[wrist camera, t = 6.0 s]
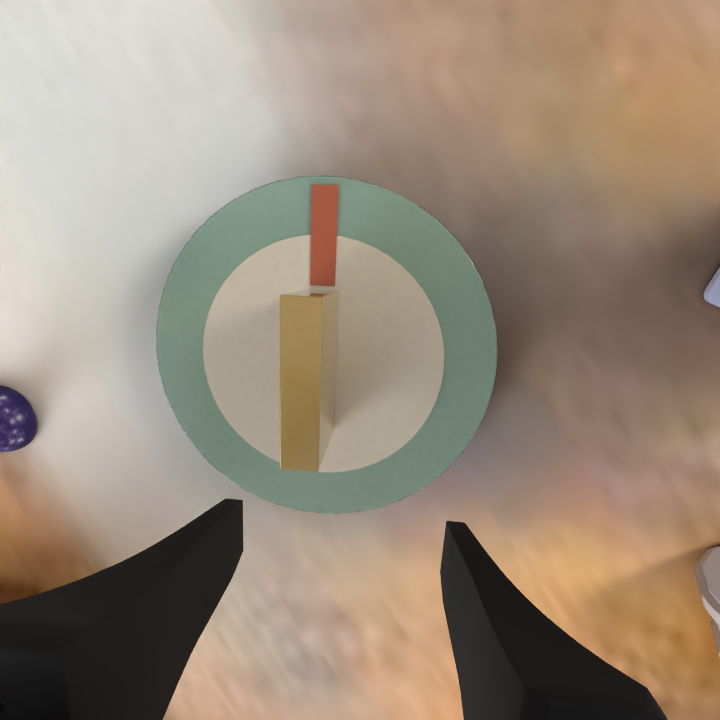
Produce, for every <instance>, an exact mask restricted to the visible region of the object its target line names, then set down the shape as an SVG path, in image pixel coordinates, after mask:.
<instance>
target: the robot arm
mask: <svg viewBox="0 0 720 720" xmlns="http://www.w3.org/2000/svg"><path fill="white" fill-rule="evenodd" d="M704 298H705V300H706V301H707V302H708V303H711V304H713V305H715V306H717V307H720V267H719V269H718V270H717V272H716V273H715V275H714V276H713V278H712V280H711V281H710V283H709V284H708V286H707V287H706V289H705V291H704ZM242 552H243V500H235V499H225V500H223V501H221V502H220V503H218V504H217V505H215V506H214V507H212V508H211V509H209V510H208V511H206V512H205V513H203V514H202V515H200V516H199V517H197V518H196V519H194V520H193V521H191V522H190V523H188V524H187V525H185V526H184V527H182V528H181V529H179V530H178V531H176V532H174V533H173V534H171V535H169V536H168V537H166V538H164V539H163V540H161V541H160V542H158V543H156V544H155V545H153V546H151V547H149V548H147V549H146V550H144V551H142V552H140V553H138V554H136V555H134V556H132V557H130V558H128V559H126V560H124V561H122V562H120V563H118V564H116V565H113V566H111V567H109V568H106V569H104V570H102V571H99V572H97V573H95V574H92V575H90V576H88V577H85V578H83V579H80V580H77V581H75V582H72V583H69V584H67V585H64V586H61V587H58V588H55V589H52V590H49V591H46V592H43V593H40V594H36V595H33V596H29V597H26V598H22V599H19V600H15V601H12V602H8V603H5V604H1V605H0V720H163V717H164V715H165V713H166V710H167V708H168V705H169V703H170V701H171V698H172V696H173V693H174V691H175V689H176V686H177V684H178V682H179V680H180V677H181V675H182V673H183V671H184V668H185V666H186V664H187V661H188V659H189V657H190V655H191V653H192V651H193V649H194V647H195V645H196V643H197V641H198V639H199V637H200V635H201V634H202V632H203V630H204V628H205V626H206V625H207V623H208V621H209V619H210V617H211V616H212V614H213V612H214V610H215V608H216V607H217V605H218V603H219V601H220V599H221V597H222V596H223V594H224V592H225V590H226V588H227V586H228V585H229V583H230V581H231V579H232V577H233V574H234V572H235V570H236V567H237V565H238V562H239V560H240V557H241V554H242ZM440 574H441V586H442V596H443V604H444V609H445V614H446V619H447V624H448V629H449V634H450V639H451V644H452V649H453V653H454V658H455V663H456V668H457V673H458V678H459V684H460V690H461V699H462V707H463V716H464V720H668V719H667V718H666V716H665V714H664V713H663V711H662V709H661V708H660V706H659V705H658V703H657V702H656V700H655V699H654V698H653V696H652V695H651V693H650V692H649V690H648V689H647V688H646V687H645V686H643V685H641V684H640V683H638V682H637V681H635V680H633V679H632V678H630V677H629V676H627V675H625V674H624V673H622V672H621V671H619V670H617V669H616V668H614V667H613V666H611V665H609V664H608V663H606V662H605V661H603V660H602V659H601V658H599V657H598V656H596V655H595V654H593V653H592V652H591V651H589V650H588V649H586V648H585V647H584V646H582V645H581V644H580V643H578V642H577V641H576V640H574V639H573V638H572V637H570V636H569V635H568V634H567V633H565V632H564V631H563V630H562V629H561V628H559V627H558V626H557V625H556V624H555V623H553V622H552V621H551V620H550V619H549V618H547V617H546V616H545V615H544V614H543V613H542V612H541V611H540V610H539V609H538V608H536V607H535V606H534V605H533V604H532V603H531V602H530V601H529V600H528V599H527V598H526V597H525V596H524V595H523V594H522V593H521V592H520V591H519V590H518V589H517V588H516V587H515V586H514V585H513V583H512V582H511V581H510V580H509V579H508V578H507V577H506V576H505V574H504V573H503V572H502V571H501V570H500V569H499V567H498V566H497V565H496V564H495V562H494V561H493V560H492V559H491V557H490V556H489V555H488V554H487V552H486V551H485V550H484V548H483V547H482V546H481V544H480V543H479V542H478V540H477V539H476V537H475V536H474V535H473V533H472V532H471V531H470V529H469V528H468V526H467V525H466V524H465V523H462V522H452V521H446V529H445V537H444V546H443V554H442V562H441V570H440Z"/></svg>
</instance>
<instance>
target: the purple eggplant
mask: <svg viewBox="0 0 720 720" xmlns="http://www.w3.org/2000/svg"><path fill="white" fill-rule="evenodd" d="M36 428H37V422H36V417H35V414H34V411H33V409H32V407H31V406H30V403H29V402H28V401H27V400H26V399H25V398H24V397H23V396H22V395H21V394H20V393H18V392H17V391H14V390H13V389H11V388H8V387H4V386H0V453H2V452H10V451H14V450H17V449H20V448H23V447H25V446H26V445H28V444H29V443H30V441H31V440H32V439H33V438H34V435H35V432H36Z"/></svg>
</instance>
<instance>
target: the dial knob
mask: <svg viewBox="0 0 720 720" xmlns="http://www.w3.org/2000/svg"><path fill="white" fill-rule="evenodd" d="M156 338H157V357H158V364H159V371H160V375H161V379H162V383H163V386H164V390H165V393H166V396H167V398H168V401H169V403H170V406H171V408H172V411H173V413H174V415H175V416H176V418H177V420H178V422H179V424H180V425H181V427H182V429H183V431H184V432H185V433H186V435H187V436H188V438H189V439H190V440H191V442H192V443H193V445H194V446H195V447H196V448H197V450H198V451H199V452H200V453H201V454H202V455H203V456H204V457H205V458H206V459H207V461H208V462H209V463H210V464H212V465H213V466H214V467H215V468H216V469H217V470H218V471H220V472H221V473H222V474H223V475H224V476H226V477H227V478H228V479H230V480H231V481H233V482H234V483H236V484H237V485H238V486H240V487H241V488H243V489H245V490H247V491H249V492H251V493H253V494H254V495H256V496H258V497H260V498H263V499H265V500H268V501H270V502H273V503H275V504H278V505H282V506H285V507H289V508H293V509H296V510H302V511H309V512H315V513H337V514H338V513H350V512H359V511H364V510H369V509H374V508H378V507H381V506H384V505H387V504H390V503H393V502H396V501H399V500H401V499H403V498H405V497H407V496H409V495H411V494H413V493H415V492H417V491H418V490H420V489H421V488H423V487H424V486H426V485H428V484H429V483H431V482H432V481H433V480H435V479H436V478H437V477H438V476H439V475H441V474H442V473H443V472H444V471H445V470H446V469H448V468H449V467H450V466H451V464H452V463H453V462H454V461H455V460H456V459H457V458H458V457H459V456H460V455H461V453H462V452H463V451H464V450H465V448H466V447H467V445H468V444H469V442H470V441H471V439H472V438H473V437H474V435H475V433H476V431H477V429H478V427H479V425H480V423H481V421H482V420H483V418H484V416H485V413H486V410H487V407H488V404H489V401H490V399H491V396H492V391H493V386H494V382H495V377H496V369H497V353H498V348H497V334H496V325H495V320H494V316H493V311H492V306H491V303H490V300H489V297H488V294H487V292H486V289H485V286H484V284H483V281H482V279H481V277H480V275H479V273H478V272H477V270H476V268H475V266H474V264H473V262H472V260H471V259H470V257H469V256H468V255H467V253H466V252H465V251H464V249H463V248H462V246H461V245H460V244H459V242H458V241H457V240H456V239H455V238H454V237H453V235H452V234H451V233H450V232H449V231H448V230H447V229H446V228H445V227H444V226H443V225H442V224H441V223H440V222H439V221H438V220H436V219H435V218H434V217H433V216H431V215H430V214H429V213H427V212H426V211H425V210H424V209H422V208H421V207H420V206H418V205H416V204H415V203H413V202H411V201H409V200H408V199H406V198H404V197H403V196H401V195H399V194H397V193H395V192H392V191H390V190H387V189H385V188H382V187H380V186H377V185H375V184H371V183H367V182H363V181H359V180H355V179H351V178H342V177H333V176H308V177H297V178H292V179H287V180H281V181H277V182H274V183H271V184H268V185H265V186H262V187H259V188H256V189H254V190H252V191H250V192H248V193H246V194H244V195H242V196H240V197H238V198H236V199H234V200H233V201H231V202H230V203H228V204H227V205H226V206H224V207H223V208H221V209H220V210H218V211H217V212H216V213H214V214H213V215H212V216H211V217H210V218H209V219H208V220H207V221H206V222H205V223H204V224H203V225H202V226H201V227H200V228H199V229H198V230H197V231H196V232H195V234H194V235H193V236H192V237H191V239H190V240H189V241H188V242H187V244H186V245H185V246H184V248H183V249H182V251H181V253H180V255H179V256H178V258H177V260H176V262H175V263H174V265H173V267H172V269H171V272H170V274H169V277H168V279H167V282H166V284H165V286H164V290H163V294H162V298H161V302H160V306H159V312H158V320H157V328H156Z"/></svg>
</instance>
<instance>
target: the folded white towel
mask: <svg viewBox="0 0 720 720" xmlns="http://www.w3.org/2000/svg"><path fill="white" fill-rule="evenodd" d="M694 569H695V573H696V577H697V581H698V585H699V589H700V593H701V596H702V600H703V604H704V607H705V609H706V610H707V611H708V613H709V614H710V615H711V617H712V618H713V619H712V621H711V626H712V630H713V634H714V637H715V641H716V645H717V649H718V653H719V656H720V546H718V547H713V548H709V549H708V550H707V551H706V552H705V553H704V555H703V556H702V557H701V558H700V560H699V561H698V562H697V563H696V564H695V566H694Z"/></svg>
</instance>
